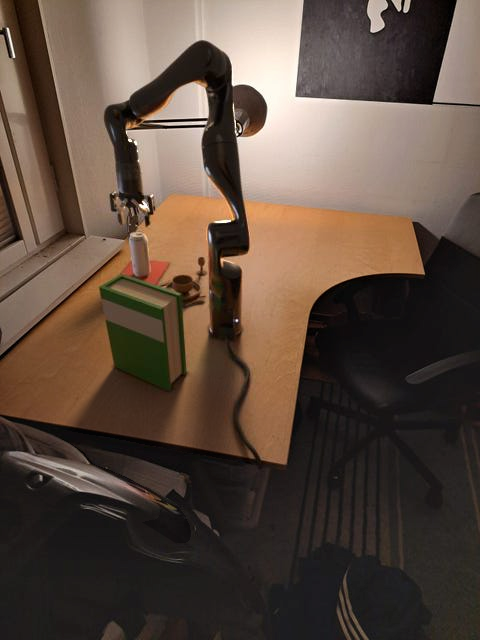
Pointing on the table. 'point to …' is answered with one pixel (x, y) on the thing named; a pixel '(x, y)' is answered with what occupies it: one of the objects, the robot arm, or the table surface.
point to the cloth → (153, 276)
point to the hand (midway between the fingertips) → (135, 225)
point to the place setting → (187, 284)
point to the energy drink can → (139, 254)
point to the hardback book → (145, 329)
